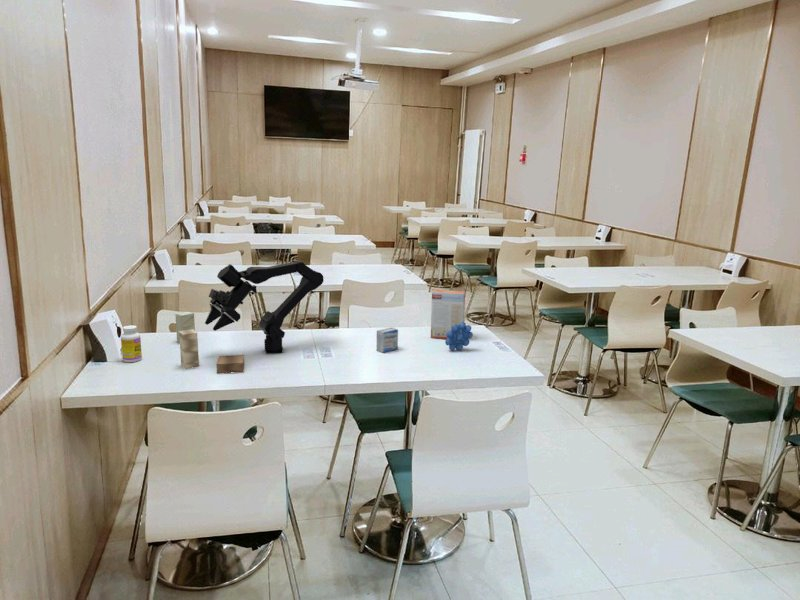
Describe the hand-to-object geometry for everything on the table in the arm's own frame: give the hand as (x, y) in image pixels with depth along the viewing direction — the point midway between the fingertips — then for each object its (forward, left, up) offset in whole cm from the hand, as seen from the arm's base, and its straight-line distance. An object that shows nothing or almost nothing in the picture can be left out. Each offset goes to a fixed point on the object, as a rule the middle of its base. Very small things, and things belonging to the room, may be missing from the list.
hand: (209, 326), depth 217 cm
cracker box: (-97, -20, -14) cm, 100 cm away
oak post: (+7, +4, -14) cm, 16 cm away
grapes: (-97, -3, -14) cm, 98 cm away
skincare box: (+13, -26, -14) cm, 32 cm away
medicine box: (-68, -6, -14) cm, 70 cm away
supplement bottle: (+29, -5, -14) cm, 33 cm away
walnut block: (-8, +9, -14) cm, 18 cm away
